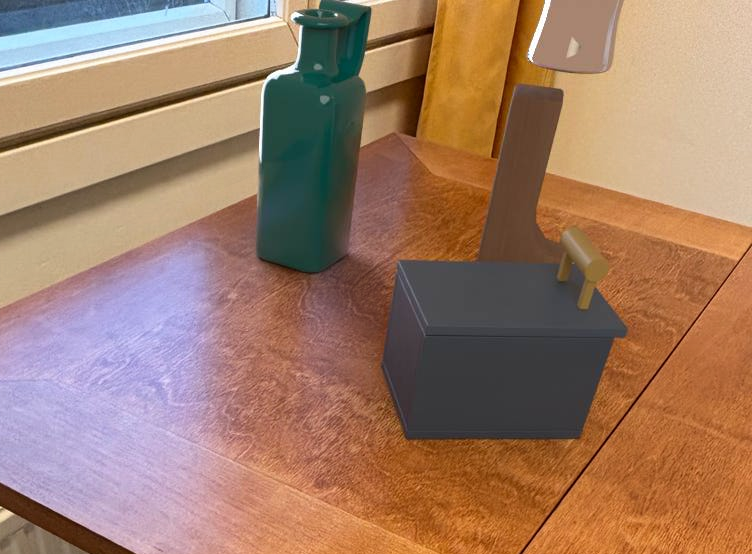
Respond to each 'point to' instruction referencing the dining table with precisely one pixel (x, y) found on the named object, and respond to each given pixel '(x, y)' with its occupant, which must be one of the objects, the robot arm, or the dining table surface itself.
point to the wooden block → (522, 180)
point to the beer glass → (576, 36)
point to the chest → (488, 380)
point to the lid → (515, 295)
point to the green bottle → (313, 140)
